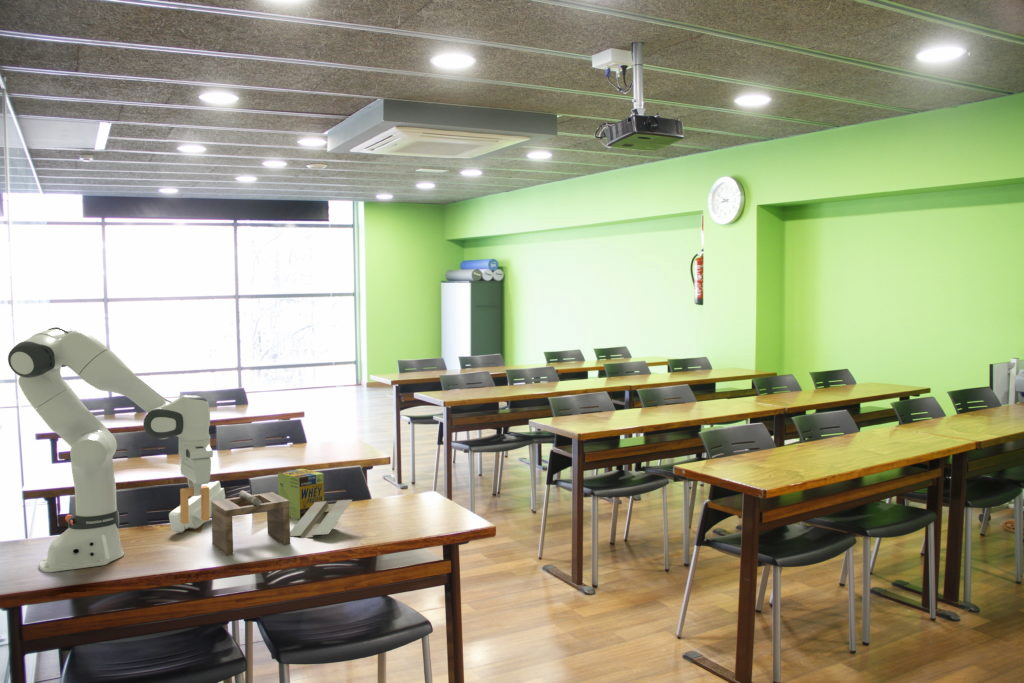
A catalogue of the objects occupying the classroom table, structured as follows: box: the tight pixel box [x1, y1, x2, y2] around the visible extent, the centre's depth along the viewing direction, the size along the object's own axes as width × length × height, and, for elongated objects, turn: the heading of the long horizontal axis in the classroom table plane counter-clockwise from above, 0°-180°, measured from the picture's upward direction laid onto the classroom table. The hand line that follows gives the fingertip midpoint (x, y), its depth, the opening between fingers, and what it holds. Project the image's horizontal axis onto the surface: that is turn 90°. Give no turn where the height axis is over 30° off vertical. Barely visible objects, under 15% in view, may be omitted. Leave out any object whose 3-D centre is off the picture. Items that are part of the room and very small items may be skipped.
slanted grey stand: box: [290, 499, 353, 538], centre depth 263 cm, size 19×10×17 cm
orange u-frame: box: [179, 485, 210, 524], centre depth 234 cm, size 8×3×10 cm, turn 126°
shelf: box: [211, 490, 291, 557], centre depth 249 cm, size 20×16×16 cm
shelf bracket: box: [168, 480, 226, 533], centre depth 275 cm, size 6×27×14 cm, turn 168°
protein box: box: [277, 468, 325, 521], centre depth 287 cm, size 10×15×16 cm
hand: (194, 494), depth 234 cm, fingers closed on orange u-frame, 3 cm apart
